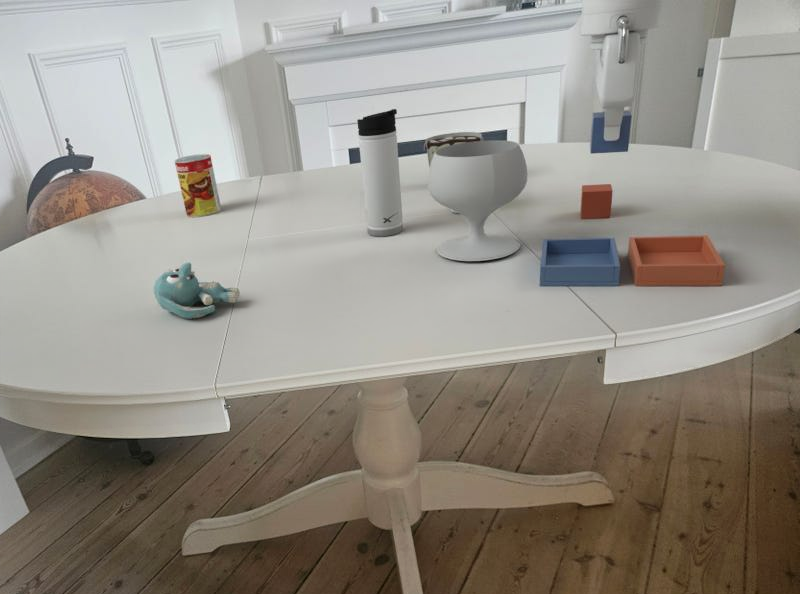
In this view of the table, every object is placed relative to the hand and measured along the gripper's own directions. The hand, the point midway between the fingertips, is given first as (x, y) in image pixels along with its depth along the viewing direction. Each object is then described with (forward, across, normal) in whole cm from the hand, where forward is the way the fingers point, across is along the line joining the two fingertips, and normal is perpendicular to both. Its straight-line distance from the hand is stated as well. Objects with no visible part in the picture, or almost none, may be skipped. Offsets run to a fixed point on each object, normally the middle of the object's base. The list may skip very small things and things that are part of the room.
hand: (610, 135), depth 82 cm
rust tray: (+15, -8, -8) cm, 19 cm away
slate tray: (+16, -8, +3) cm, 18 cm away
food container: (+16, +46, +28) cm, 56 cm away
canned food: (+17, +30, +81) cm, 88 cm away
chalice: (+16, +1, +17) cm, 23 cm away
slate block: (+2, 0, 0) cm, 2 cm away
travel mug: (+16, +12, +34) cm, 40 cm away
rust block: (+16, +18, 0) cm, 24 cm away
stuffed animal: (+16, -22, +53) cm, 60 cm away
